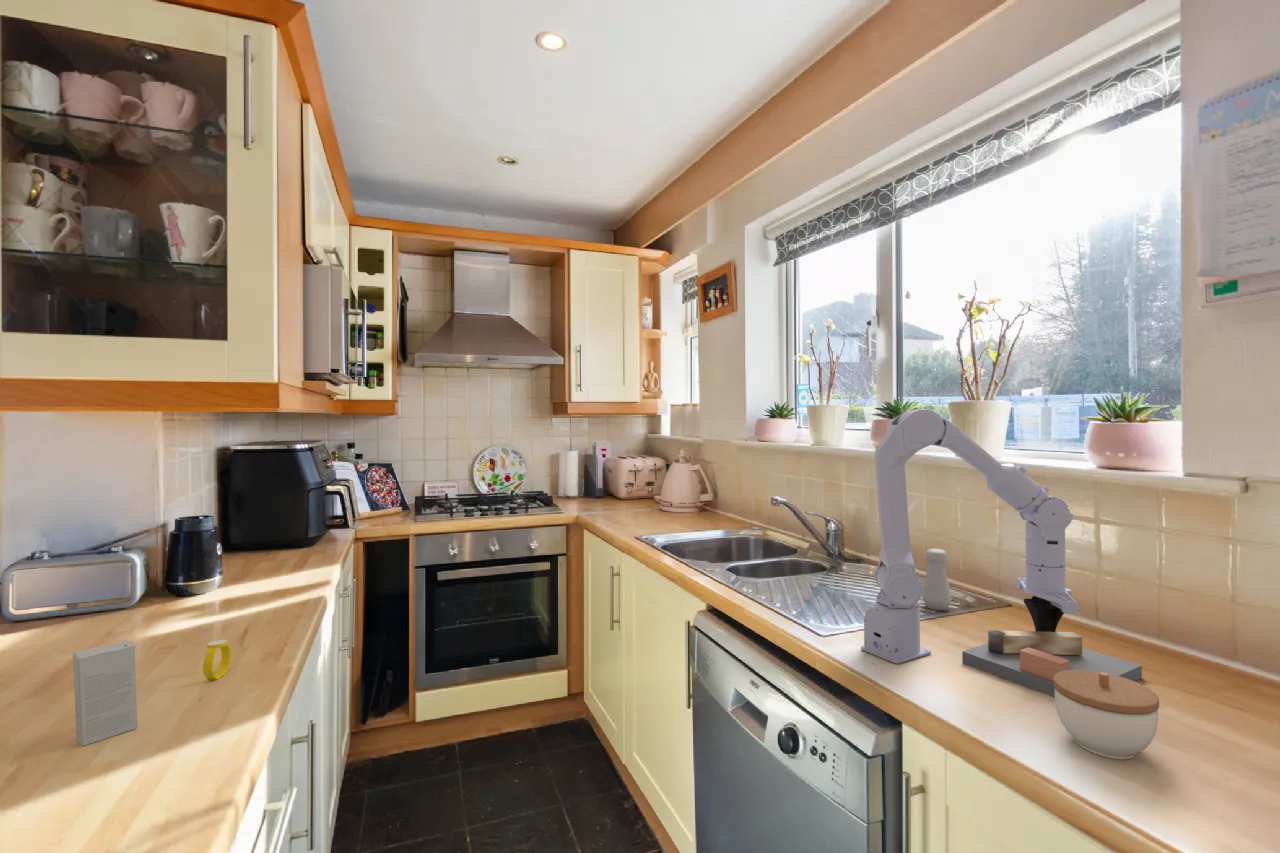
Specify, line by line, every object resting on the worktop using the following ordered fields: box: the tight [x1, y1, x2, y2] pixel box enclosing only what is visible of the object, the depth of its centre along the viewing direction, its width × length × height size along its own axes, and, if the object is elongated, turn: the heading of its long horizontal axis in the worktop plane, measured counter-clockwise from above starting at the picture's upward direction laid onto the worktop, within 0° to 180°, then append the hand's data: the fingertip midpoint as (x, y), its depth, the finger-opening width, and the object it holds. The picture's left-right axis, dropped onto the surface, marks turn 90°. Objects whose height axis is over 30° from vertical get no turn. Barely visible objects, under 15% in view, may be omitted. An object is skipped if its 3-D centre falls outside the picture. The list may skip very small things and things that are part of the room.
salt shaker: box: [921, 548, 952, 611], centre depth 132 cm, size 6×6×13 cm
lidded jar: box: [1053, 670, 1160, 761], centre depth 77 cm, size 11×11×9 cm
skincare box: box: [72, 639, 138, 747], centre depth 83 cm, size 6×4×12 cm
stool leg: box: [987, 629, 1083, 655], centre depth 102 cm, size 14×3×3 cm, turn 84°
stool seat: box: [961, 642, 1143, 698], centre depth 99 cm, size 19×18×5 cm
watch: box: [202, 639, 232, 681], centre depth 102 cm, size 6×3×6 cm, turn 9°
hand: (1045, 641), depth 103 cm, fingers closed
